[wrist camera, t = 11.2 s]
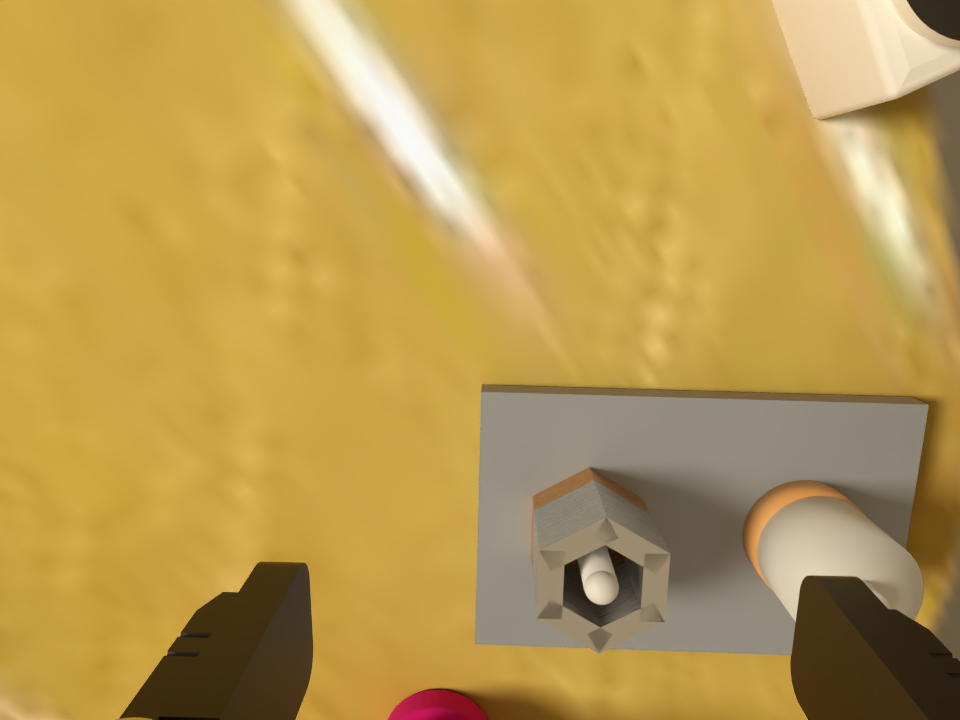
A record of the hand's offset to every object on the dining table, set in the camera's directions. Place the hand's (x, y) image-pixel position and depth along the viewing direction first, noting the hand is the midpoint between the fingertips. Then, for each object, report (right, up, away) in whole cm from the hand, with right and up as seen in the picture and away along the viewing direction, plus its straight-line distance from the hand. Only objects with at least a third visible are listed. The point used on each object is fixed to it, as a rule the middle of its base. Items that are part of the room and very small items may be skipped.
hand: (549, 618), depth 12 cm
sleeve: (+4, -4, +25) cm, 26 cm away
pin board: (+10, -4, +27) cm, 29 cm away
